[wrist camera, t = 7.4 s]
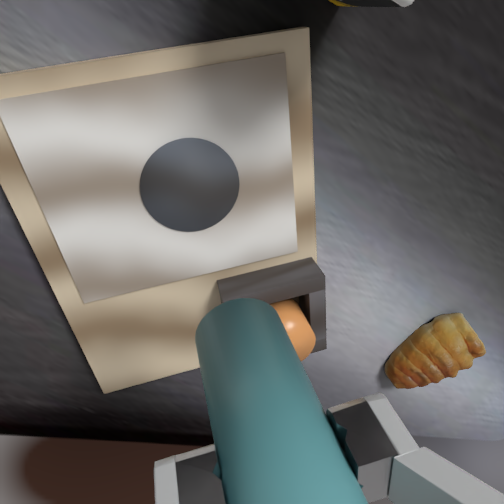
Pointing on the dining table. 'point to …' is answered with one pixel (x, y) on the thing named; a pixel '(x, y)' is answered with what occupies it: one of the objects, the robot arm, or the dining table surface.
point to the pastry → (434, 352)
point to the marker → (267, 413)
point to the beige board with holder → (166, 192)
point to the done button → (296, 327)
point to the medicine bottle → (373, 3)
